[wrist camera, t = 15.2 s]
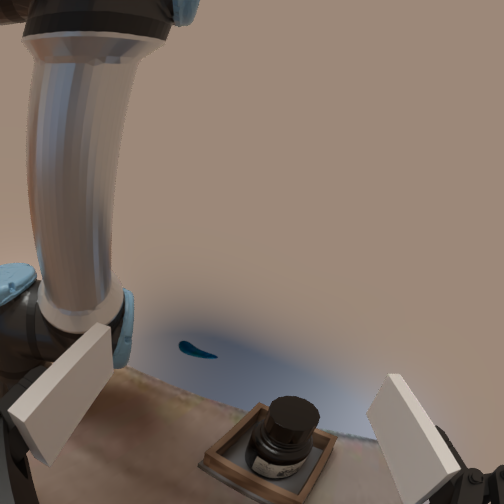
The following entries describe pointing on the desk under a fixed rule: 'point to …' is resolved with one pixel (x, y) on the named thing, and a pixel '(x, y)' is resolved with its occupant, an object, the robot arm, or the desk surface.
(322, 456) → the tray
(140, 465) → the desk surface
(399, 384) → the robot arm
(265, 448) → the ink bottle
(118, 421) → the desk surface
